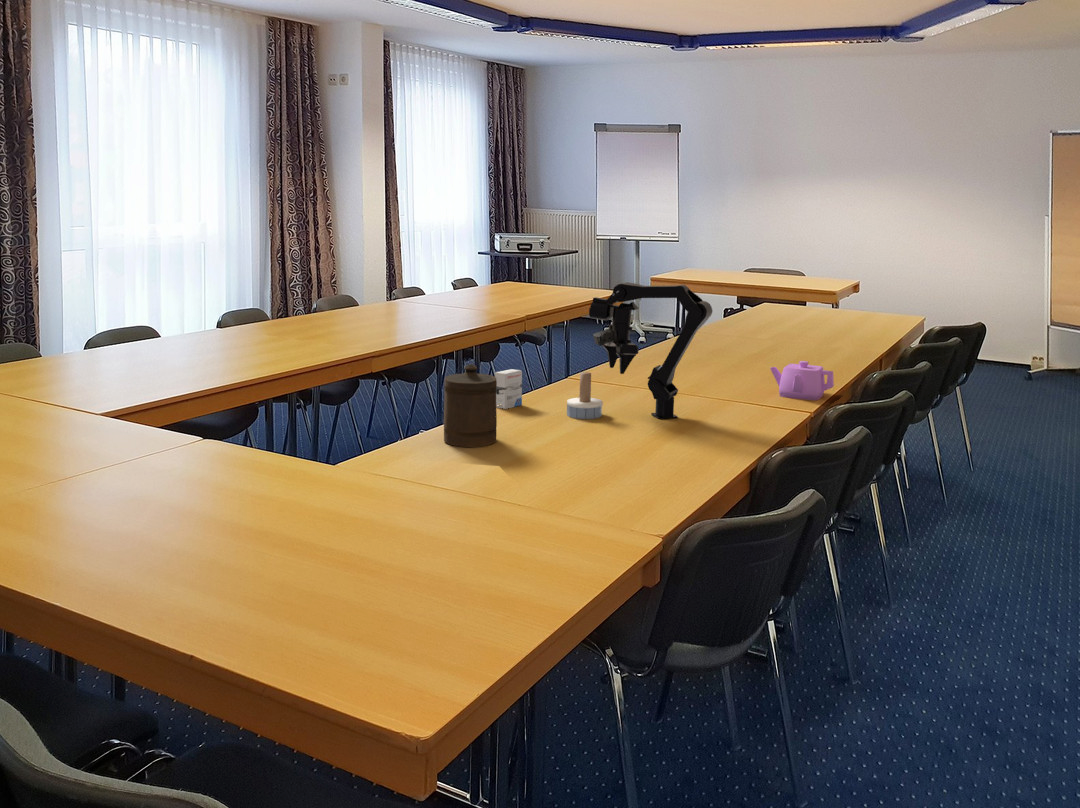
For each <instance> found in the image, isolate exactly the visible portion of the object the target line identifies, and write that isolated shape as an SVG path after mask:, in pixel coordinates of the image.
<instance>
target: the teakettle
mask: <svg viewBox="0 0 1080 808" xmlns="http://www.w3.org/2000/svg"><path fill="white" fill-rule="evenodd" d="M809 363H810V362H809V361H807V360H800V361H799V362H798V363H788V364H787V365H785V366H784V367H783V369H782V372H780V370H779V369H778V368H777V367H776V366H771V367H770V368H769V369H770V371H771V373H772V375H773V377H774V379H775V381H776V383H777V386H778V387H779V389H778V392H779V397H782V398H788V399H795V400H805V401H806V400H807V401H818V400H819V399H821V398H822V397H823V396H824V393H825V391H827V390H830V389H832V388H834V387H835V386H834V385H835V384H834V370H825V369H824V367H823V366H820V365H812V364H809ZM825 375H826V376H827V377H826V380H825ZM825 381H826V382H825Z"/></svg>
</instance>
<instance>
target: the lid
mask: <svg viewBox="0 0 1080 808" xmlns="http://www.w3.org/2000/svg"><path fill="white" fill-rule="evenodd" d="M591 392H592V373H591V372H588V371H585V372H584V371H581V372H579V397H573V398H572V397H571V398H569V399H567V400H566V402H567V403H566V406H567V405H569V406H571V407H576V408H597V407H601V406H602V407H603V405H604V403H603V400H602V399H599V398H594V397H591V395H592V393H591Z"/></svg>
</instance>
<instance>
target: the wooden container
mask: <svg viewBox="0 0 1080 808" xmlns="http://www.w3.org/2000/svg"><path fill="white" fill-rule="evenodd" d="M477 370H478V367H477V366H476V365H475V364H473V363H469V364H468V363H467V364H466V365H464V372H463V373H454V374H449V375H447V376H444V383H443V385H444V391H443V396H444V398H443V401H444V402H443V442H444V443H446V444H447V445H450V446H452V447H453V446H454V447H459V448H480V447H487V446H490V445H493V444H494V443H496V442H497V424H498V423H497V422H498V421H497V416H498V415H497V407H496V387H497V380H496V377H495V375H491V374H486V373H477Z"/></svg>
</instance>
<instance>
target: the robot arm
mask: <svg viewBox="0 0 1080 808" xmlns="http://www.w3.org/2000/svg"><path fill="white" fill-rule="evenodd" d="M638 299H676V300H678V302H679V303H680V304H681V306H682V307H683V309H684V310H685V311H686V312H687V313H686V316H685V320H684V326H683V327H682V329H681V332H680V333H679V334H678V337H677V338H676V340H675V342H674V344H673V345H672V347H671V349H670V351H669V353H668V354H667V356H666V358H665V360H664V362H663V363H662V365H661V364H659V365H657V366H655V367H652V371H651V373H650V375H649V376H648V377H647V379H648V381H647V387H648V389H649V391H650V392H651V394H652V397H653V399H654V400H655V412H651V413H650V414H651V416H653V417H654V418H656V419H659V420H663V419H664V420H665V419H667V420H668V419H677V418H678V417H679V416H678V415H677V414H674V413H675V412H674V411H675V410H674V409H675V406H674V405H675V397H676V396H677V394H678V393H679V389H678V388H677V386H676V385H675V384H674V382H673V381H674V378H675V372H676V369H677V367H678V365H679V363H680V362H681V361H682V358H683V356H684V354H685V353H686V351H687V349H688V347H689V346H690V344H691V342H692V341H693V339H694V337H695V335H697V332H698V331H699V330H700V329H701V328H702V327H703V325H705V323H706V322H708V320H709V318H710V317H711V316H712V314H713V308H712V305H711V303H709V302H708V301H705V300H703V299H702V298H701V297H700V296H699V295H698V294H696V293H695V292H694V291H692V290H691V289H690V288H689V287H688V286H687V285H685V284H680V285H643V284H639V283H635V282H621V283H617V284H616V285H615V286H614V287H613V289H612V293H611V295H609V297H608V298H607V299H606V298H601V297H593V298H592V302H591V303H590V305H589V306H590V307H589V309H588V315H589V318H590V319H595V320H600V321H609V320H610V318H611V319H612V323H611V324H609V325H608V329H605V330H601V331H599V332H598V331H597V332H595V333H593V335H592V336H593V340H594V344H595V345H597V346H602V347H603V348H604V350H606V353H607V358H608V363H609V368H610V369H614V368H615V366H616V365H615V364H616V362H617V360H618V358H619V374H620V375H624V374H625V372H626V371H627V369H628V367H629V366H630V364H631V362H632V361H633V359H634V358H635V357H636V356H637V355H638V354H639V346H638V345H637V344H635V343H633V342H632V340H631V339H630V331H633V327H632V326H631V323H632V322H631V319H632V311H636V310H639V306H637V304H636V303H635V300H638ZM629 301H631V302H630V303H626V302H629ZM618 303H619V304H618ZM617 304H618V305H617Z"/></svg>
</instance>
